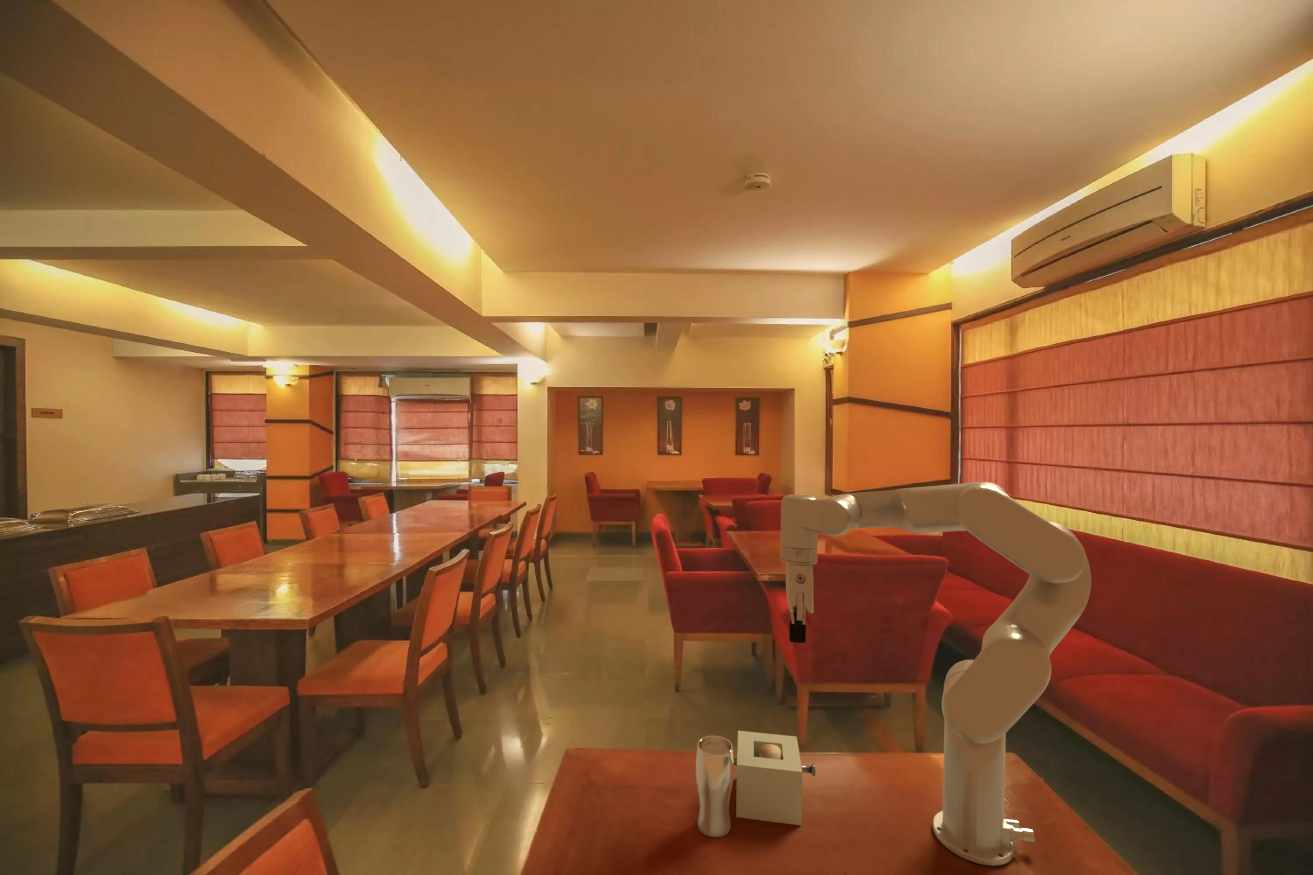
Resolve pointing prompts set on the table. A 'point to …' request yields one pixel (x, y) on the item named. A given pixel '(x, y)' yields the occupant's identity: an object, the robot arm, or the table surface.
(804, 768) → the plunger
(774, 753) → the peg
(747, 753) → the socket
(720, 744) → the beer glass
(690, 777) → the table surface
